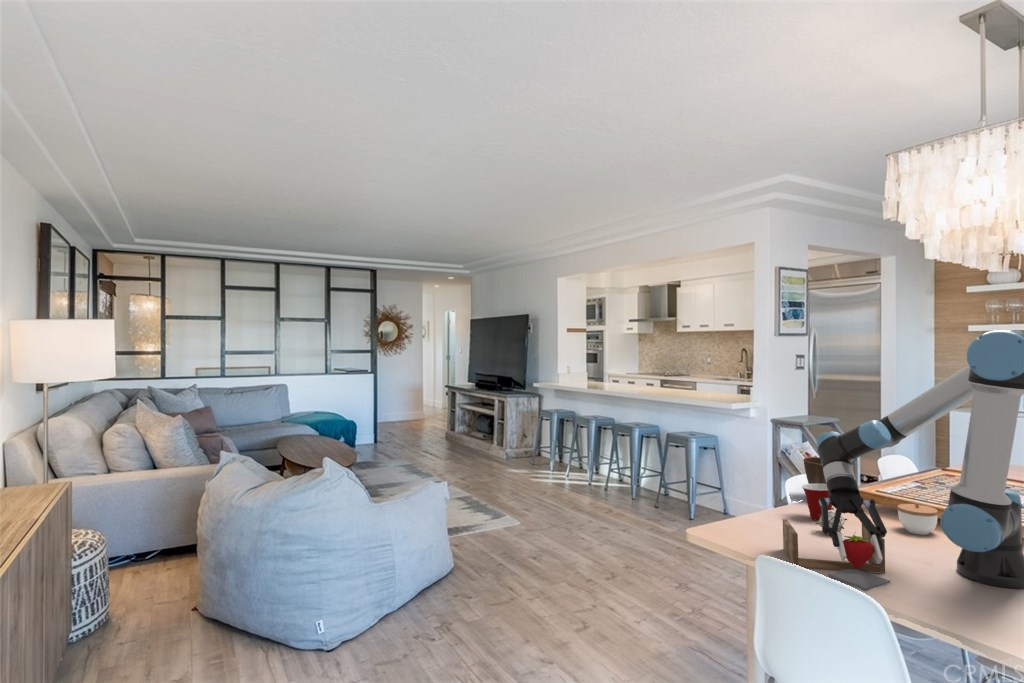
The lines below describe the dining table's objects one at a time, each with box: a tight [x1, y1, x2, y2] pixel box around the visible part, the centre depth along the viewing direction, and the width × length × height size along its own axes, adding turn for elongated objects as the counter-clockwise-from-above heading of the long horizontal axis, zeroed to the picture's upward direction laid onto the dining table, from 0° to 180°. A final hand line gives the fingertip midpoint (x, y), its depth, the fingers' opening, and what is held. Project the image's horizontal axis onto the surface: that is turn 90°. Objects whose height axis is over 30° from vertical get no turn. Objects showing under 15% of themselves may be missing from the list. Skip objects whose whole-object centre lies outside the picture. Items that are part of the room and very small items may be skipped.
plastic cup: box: [801, 483, 833, 522], centre depth 198 cm, size 11×11×12 cm
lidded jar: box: [897, 502, 939, 536], centre depth 183 cm, size 11×11×9 cm
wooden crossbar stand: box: [782, 518, 886, 574], centre depth 160 cm, size 14×22×9 cm, turn 75°
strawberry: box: [842, 532, 874, 569], centre depth 146 cm, size 6×8×10 cm
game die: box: [814, 507, 848, 537], centre depth 183 cm, size 9×8×10 cm
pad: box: [827, 568, 891, 591], centre depth 146 cm, size 10×10×1 cm
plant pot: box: [802, 456, 827, 484], centre depth 221 cm, size 15×15×16 cm
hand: (861, 559), depth 143 cm, fingers closed on strawberry, 7 cm apart
